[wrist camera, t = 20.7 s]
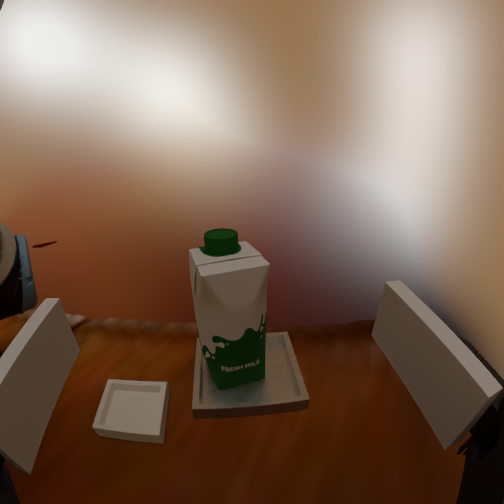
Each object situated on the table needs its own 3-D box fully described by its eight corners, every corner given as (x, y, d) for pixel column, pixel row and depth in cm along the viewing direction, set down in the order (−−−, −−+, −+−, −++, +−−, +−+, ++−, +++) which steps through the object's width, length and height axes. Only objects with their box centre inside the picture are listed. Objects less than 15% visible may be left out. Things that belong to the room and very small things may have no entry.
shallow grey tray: (194, 417, 31) (192, 408, 30) (198, 347, 44) (197, 337, 44) (307, 408, 32) (309, 399, 31) (286, 341, 46) (287, 331, 45)
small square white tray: (98, 435, 26) (92, 427, 25) (113, 388, 34) (108, 378, 33) (163, 443, 27) (159, 435, 26) (170, 391, 35) (166, 382, 34)
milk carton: (251, 343, 44) (248, 223, 37) (274, 380, 37) (279, 246, 29) (198, 355, 42) (181, 232, 34) (213, 397, 34) (194, 260, 26)
